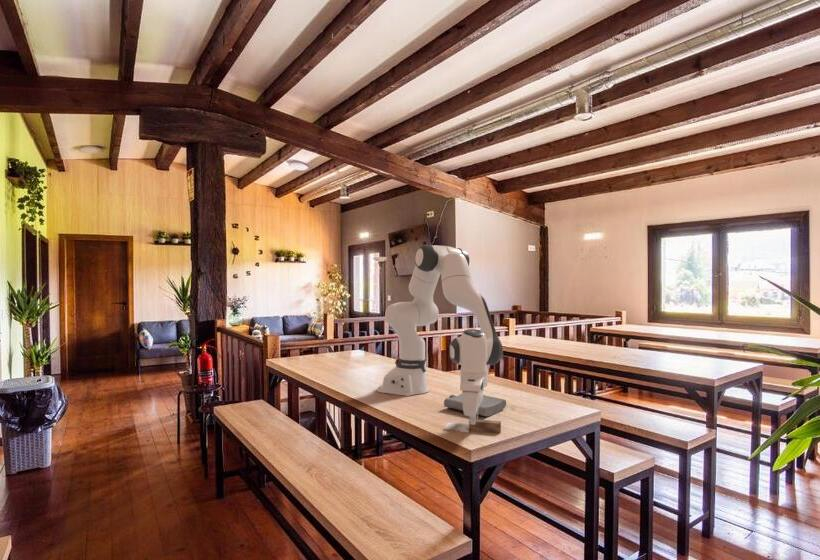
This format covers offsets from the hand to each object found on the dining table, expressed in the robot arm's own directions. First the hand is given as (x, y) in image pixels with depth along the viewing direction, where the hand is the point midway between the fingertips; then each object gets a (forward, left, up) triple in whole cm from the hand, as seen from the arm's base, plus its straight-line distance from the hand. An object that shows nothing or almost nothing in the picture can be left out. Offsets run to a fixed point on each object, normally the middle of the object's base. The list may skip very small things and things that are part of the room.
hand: (474, 421), depth 151 cm
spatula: (0, 0, -3) cm, 3 cm away
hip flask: (+5, +19, -1) cm, 20 cm away
